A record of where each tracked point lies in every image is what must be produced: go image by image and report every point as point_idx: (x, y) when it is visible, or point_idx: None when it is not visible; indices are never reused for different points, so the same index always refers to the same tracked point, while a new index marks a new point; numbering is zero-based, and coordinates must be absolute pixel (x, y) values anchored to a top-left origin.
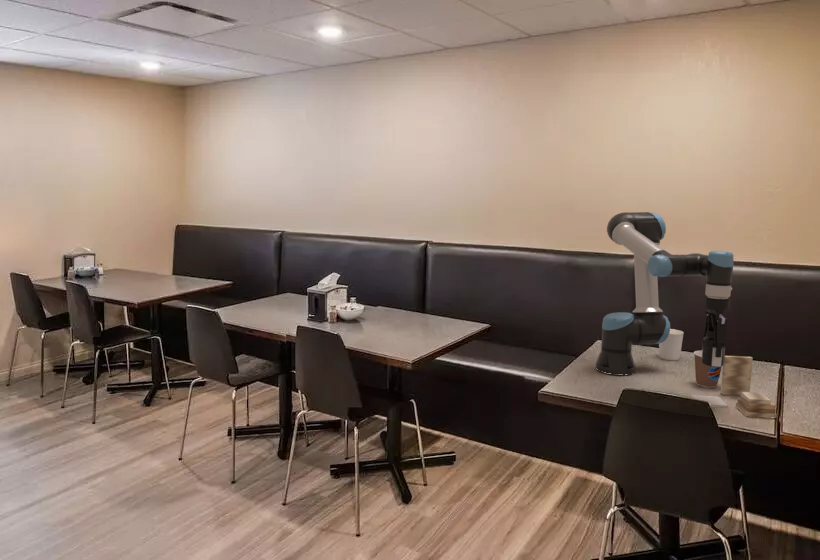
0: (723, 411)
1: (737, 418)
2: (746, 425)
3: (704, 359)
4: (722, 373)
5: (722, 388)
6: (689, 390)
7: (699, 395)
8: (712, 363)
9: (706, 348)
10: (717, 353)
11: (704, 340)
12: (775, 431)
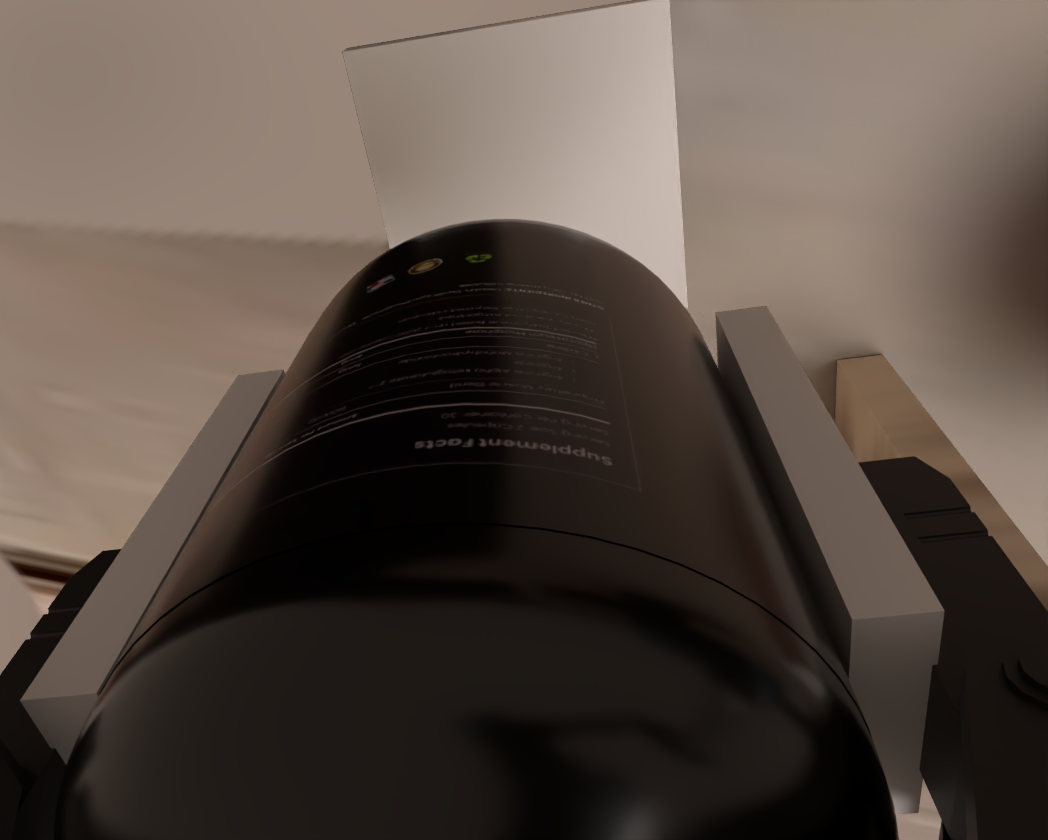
0: (290, 276)
1: (150, 360)
2: (6, 394)
3: (367, 284)
4: (974, 478)
5: (863, 389)
6: (943, 14)
7: (673, 103)
8: (221, 403)
9: (242, 473)
10: (37, 643)
11: (286, 615)
12: (4, 553)
